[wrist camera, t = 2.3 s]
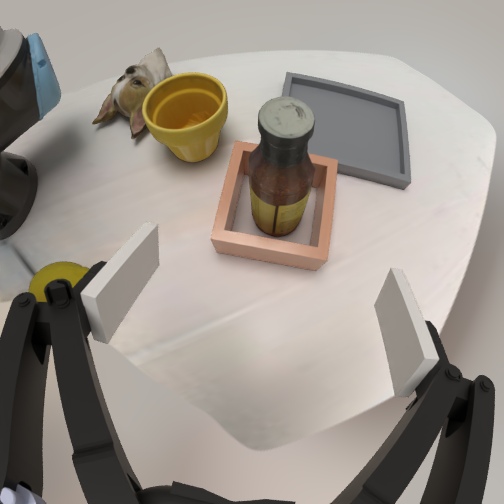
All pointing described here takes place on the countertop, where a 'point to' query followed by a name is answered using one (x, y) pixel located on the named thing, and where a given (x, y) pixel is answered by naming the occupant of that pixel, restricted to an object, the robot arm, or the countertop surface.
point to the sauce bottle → (281, 165)
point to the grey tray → (356, 129)
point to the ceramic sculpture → (135, 91)
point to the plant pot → (187, 114)
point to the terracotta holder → (268, 247)
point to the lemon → (55, 277)
